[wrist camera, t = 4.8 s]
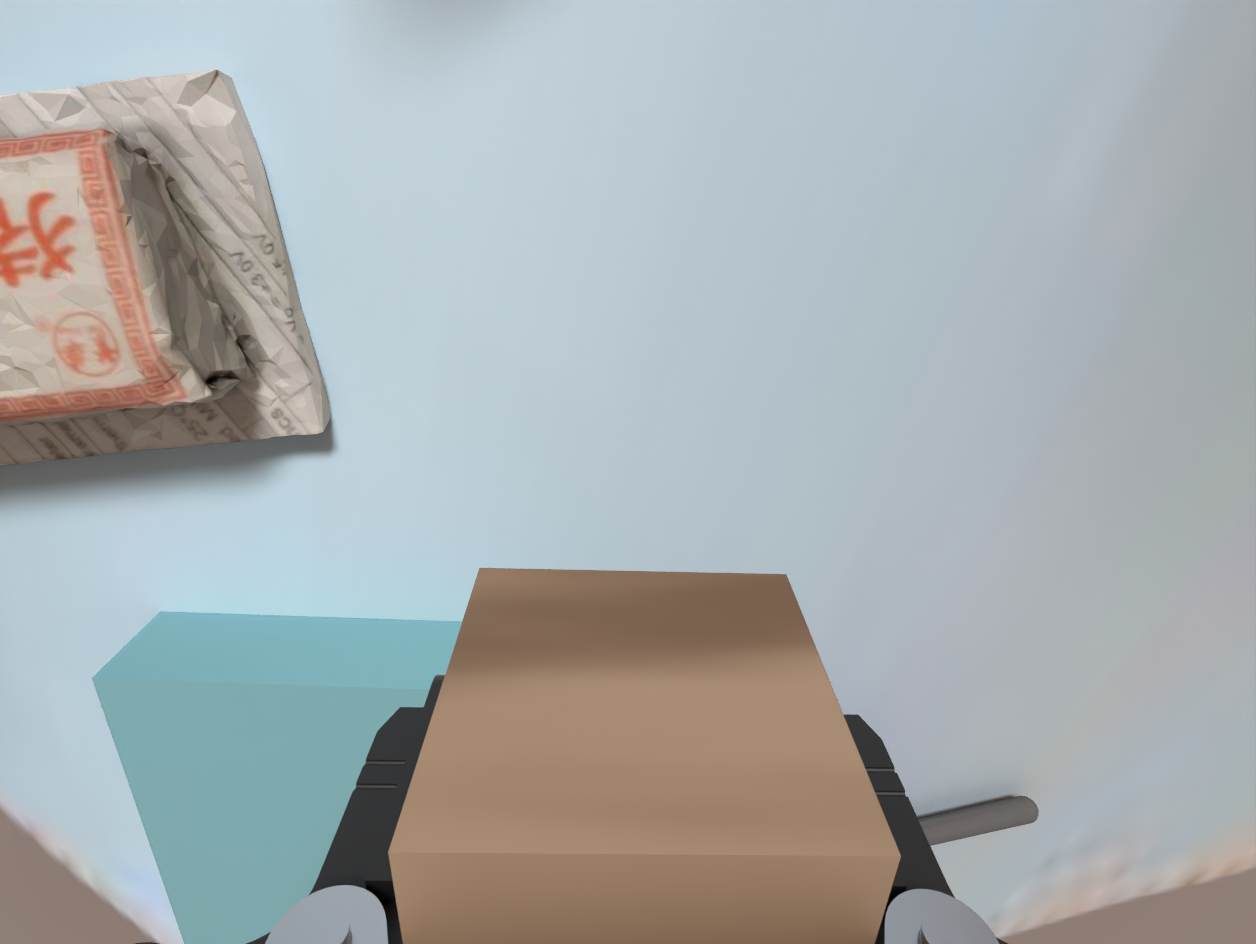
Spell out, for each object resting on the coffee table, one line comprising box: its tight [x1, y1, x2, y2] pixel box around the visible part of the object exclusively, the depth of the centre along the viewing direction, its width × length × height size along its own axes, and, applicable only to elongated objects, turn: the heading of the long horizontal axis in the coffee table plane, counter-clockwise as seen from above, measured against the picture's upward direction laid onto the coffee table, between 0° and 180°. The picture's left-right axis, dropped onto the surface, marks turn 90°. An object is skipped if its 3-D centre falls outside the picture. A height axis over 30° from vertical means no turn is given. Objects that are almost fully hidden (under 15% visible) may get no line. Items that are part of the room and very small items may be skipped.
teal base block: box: [92, 612, 462, 944], centre depth 27 cm, size 14×14×4 cm
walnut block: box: [388, 568, 901, 944], centre depth 10 cm, size 5×5×5 cm
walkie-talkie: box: [918, 796, 1038, 846], centre depth 28 cm, size 9×4×20 cm
